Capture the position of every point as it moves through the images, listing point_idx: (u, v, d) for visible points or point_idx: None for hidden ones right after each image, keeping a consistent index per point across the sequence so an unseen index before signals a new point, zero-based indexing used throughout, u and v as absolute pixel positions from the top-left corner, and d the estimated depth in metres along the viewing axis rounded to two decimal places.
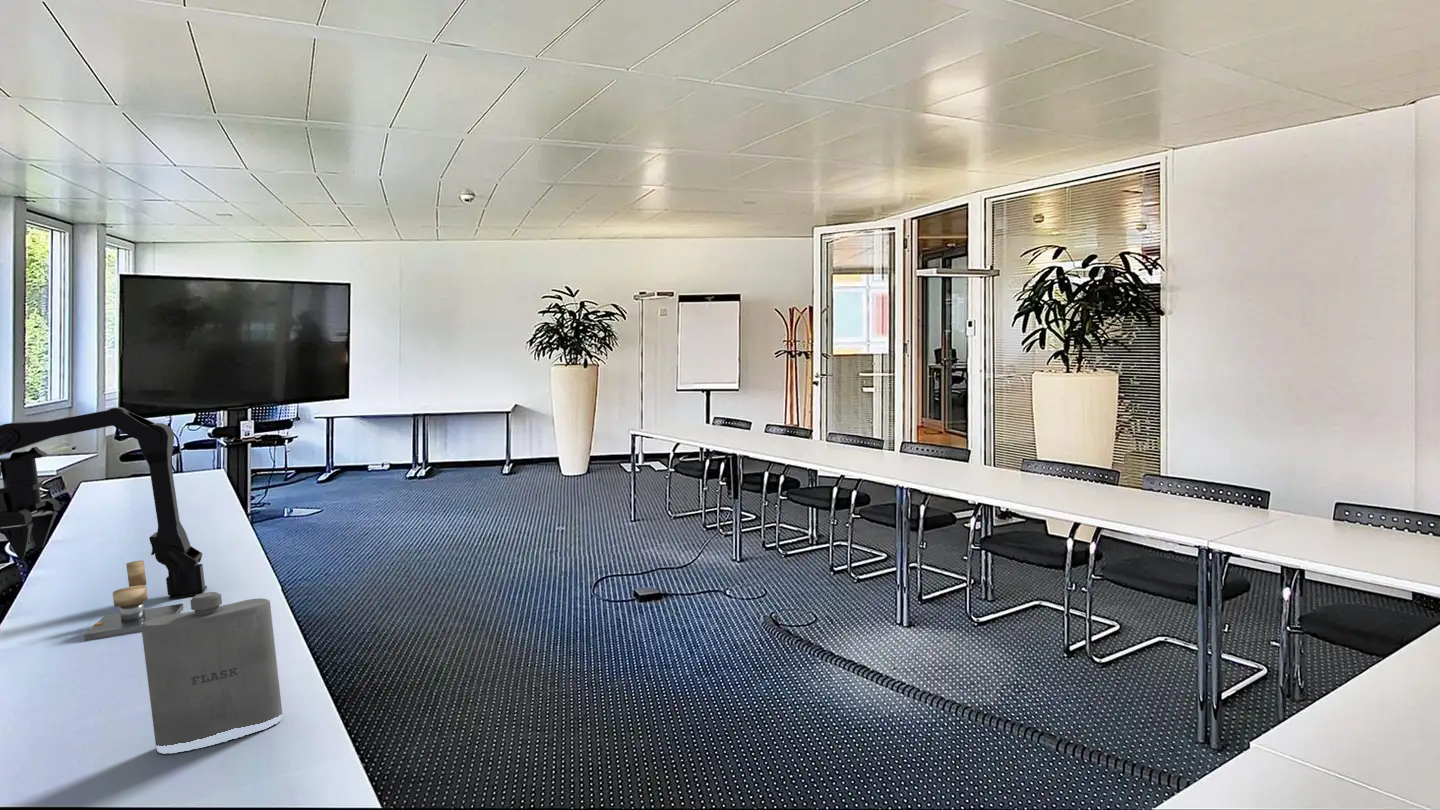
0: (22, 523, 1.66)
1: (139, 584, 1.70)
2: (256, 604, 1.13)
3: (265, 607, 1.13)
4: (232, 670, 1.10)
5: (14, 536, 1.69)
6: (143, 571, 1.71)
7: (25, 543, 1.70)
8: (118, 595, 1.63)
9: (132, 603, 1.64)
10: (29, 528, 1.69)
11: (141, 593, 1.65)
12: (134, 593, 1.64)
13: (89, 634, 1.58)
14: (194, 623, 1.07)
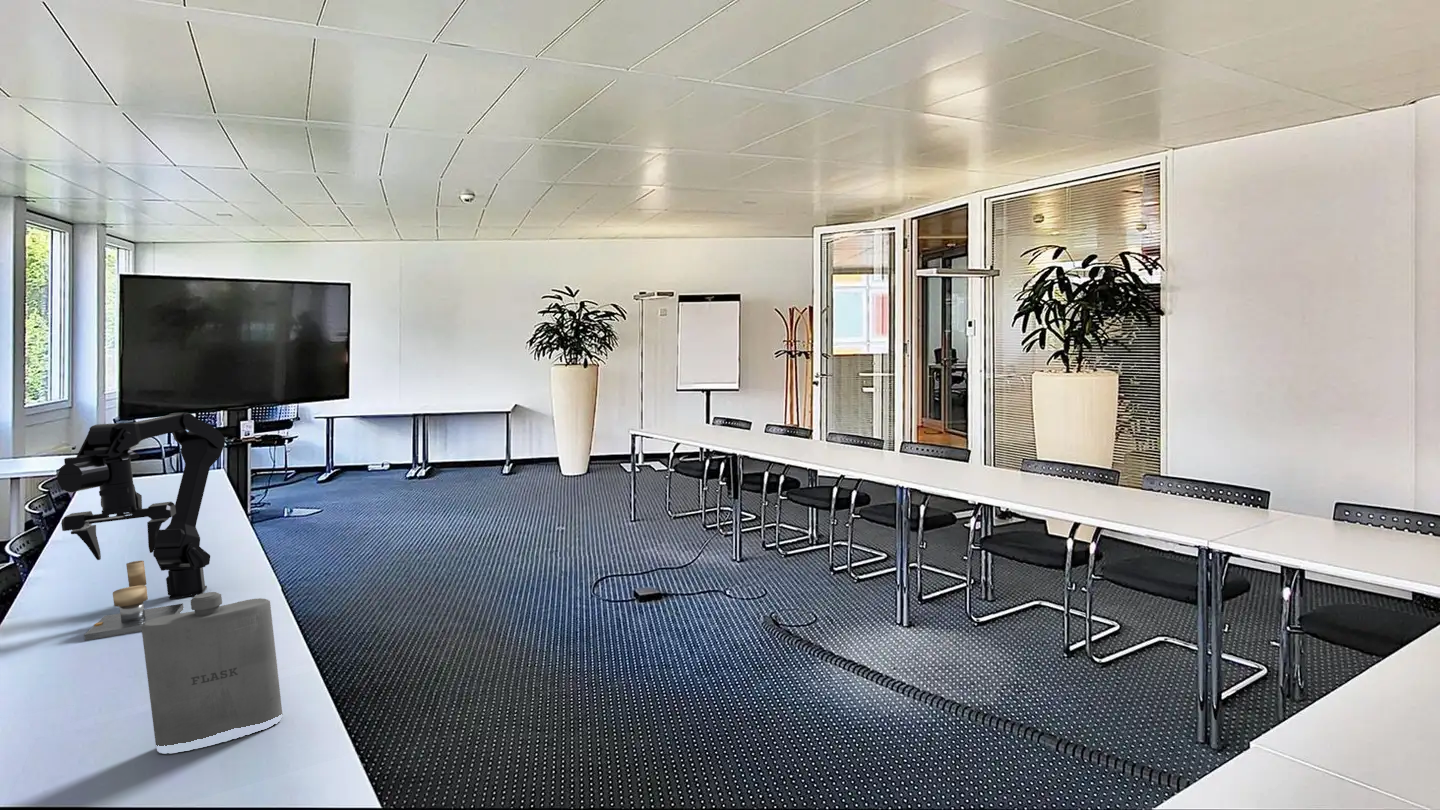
0: (63, 529, 1.64)
1: (139, 584, 1.70)
2: (256, 604, 1.13)
3: (265, 607, 1.13)
4: (233, 670, 1.10)
5: None
6: (143, 571, 1.71)
7: None
8: (118, 595, 1.63)
9: (132, 603, 1.64)
10: (80, 535, 1.65)
11: (141, 593, 1.65)
12: (134, 593, 1.64)
13: (89, 634, 1.58)
14: (194, 623, 1.07)
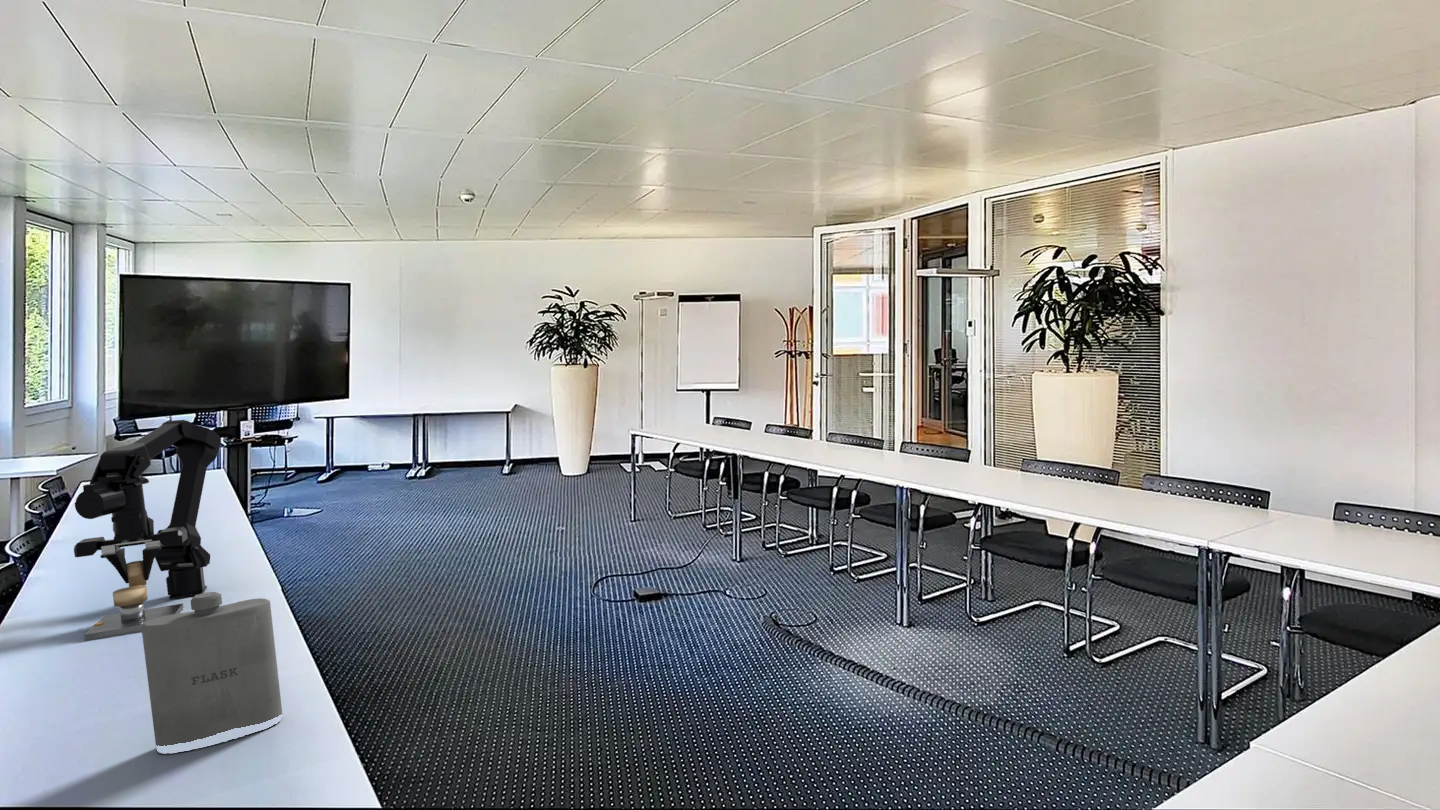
0: (75, 556, 1.64)
1: (139, 584, 1.70)
2: (256, 604, 1.13)
3: (265, 607, 1.13)
4: (233, 670, 1.10)
5: None
6: (143, 571, 1.71)
7: (118, 571, 1.68)
8: (118, 595, 1.63)
9: (132, 603, 1.64)
10: (110, 559, 1.67)
11: (141, 593, 1.65)
12: (134, 593, 1.64)
13: (89, 634, 1.58)
14: (194, 623, 1.07)
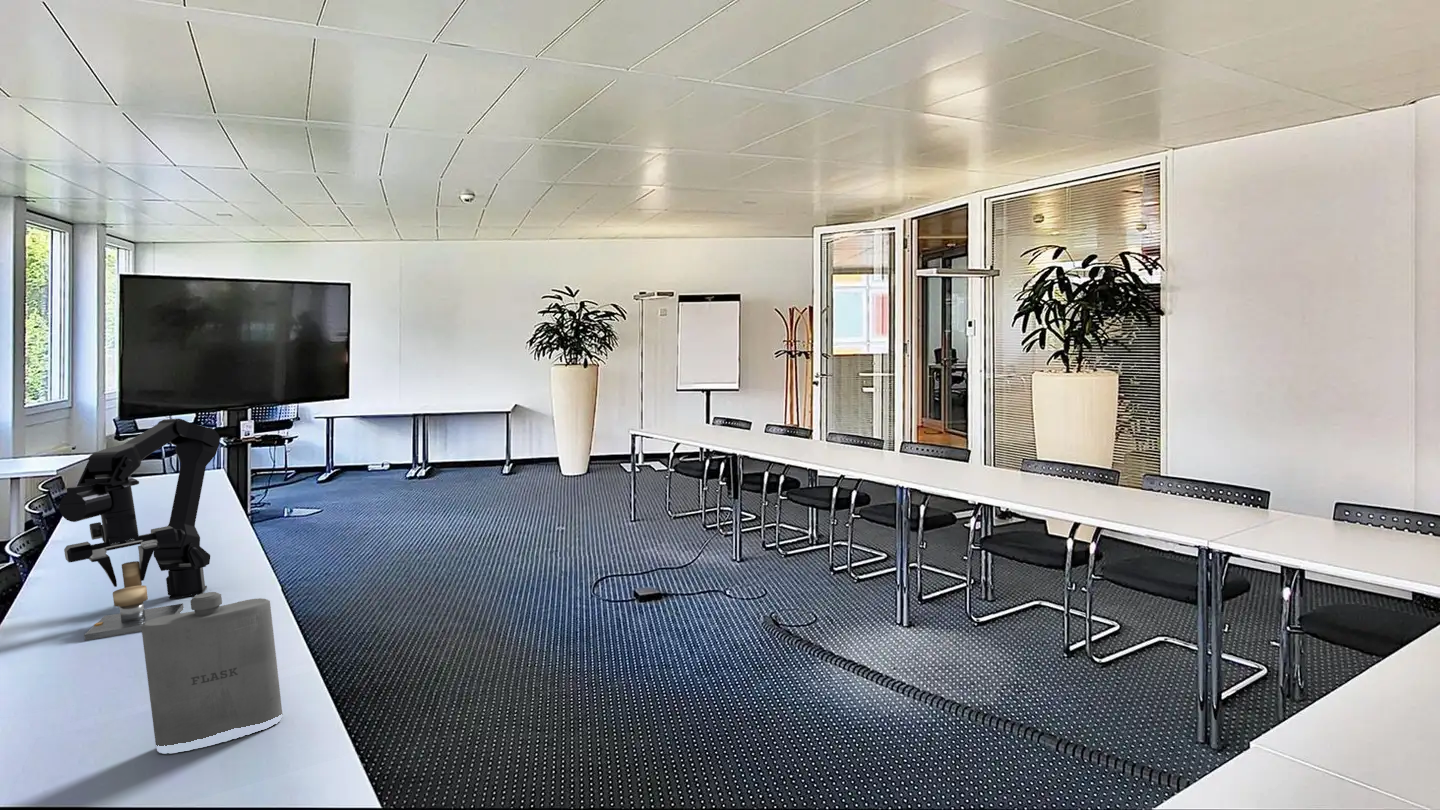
0: (69, 561, 1.61)
1: (135, 584, 1.70)
2: (256, 604, 1.13)
3: (265, 607, 1.13)
4: (233, 670, 1.10)
5: None
6: (139, 571, 1.71)
7: (108, 575, 1.66)
8: (120, 595, 1.63)
9: (134, 602, 1.64)
10: (102, 562, 1.65)
11: (142, 592, 1.65)
12: (136, 592, 1.64)
13: (89, 634, 1.58)
14: (194, 623, 1.07)
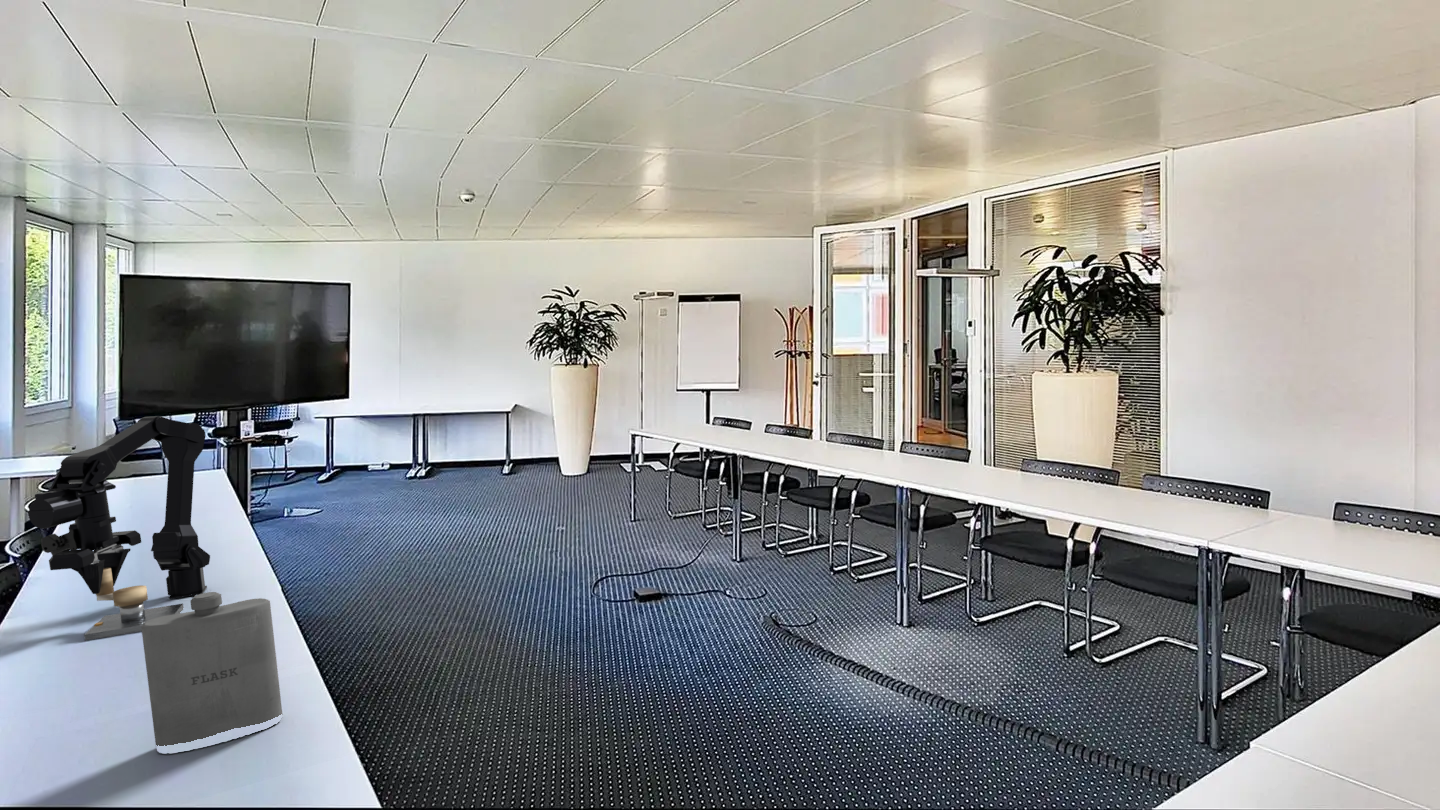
0: (80, 566, 1.56)
1: (113, 590, 1.67)
2: (256, 604, 1.13)
3: (265, 607, 1.13)
4: (233, 670, 1.10)
5: (87, 573, 1.62)
6: None
7: (98, 580, 1.63)
8: (134, 593, 1.64)
9: (146, 599, 1.66)
10: (99, 566, 1.62)
11: None
12: (145, 589, 1.66)
13: (89, 634, 1.58)
14: (194, 623, 1.07)
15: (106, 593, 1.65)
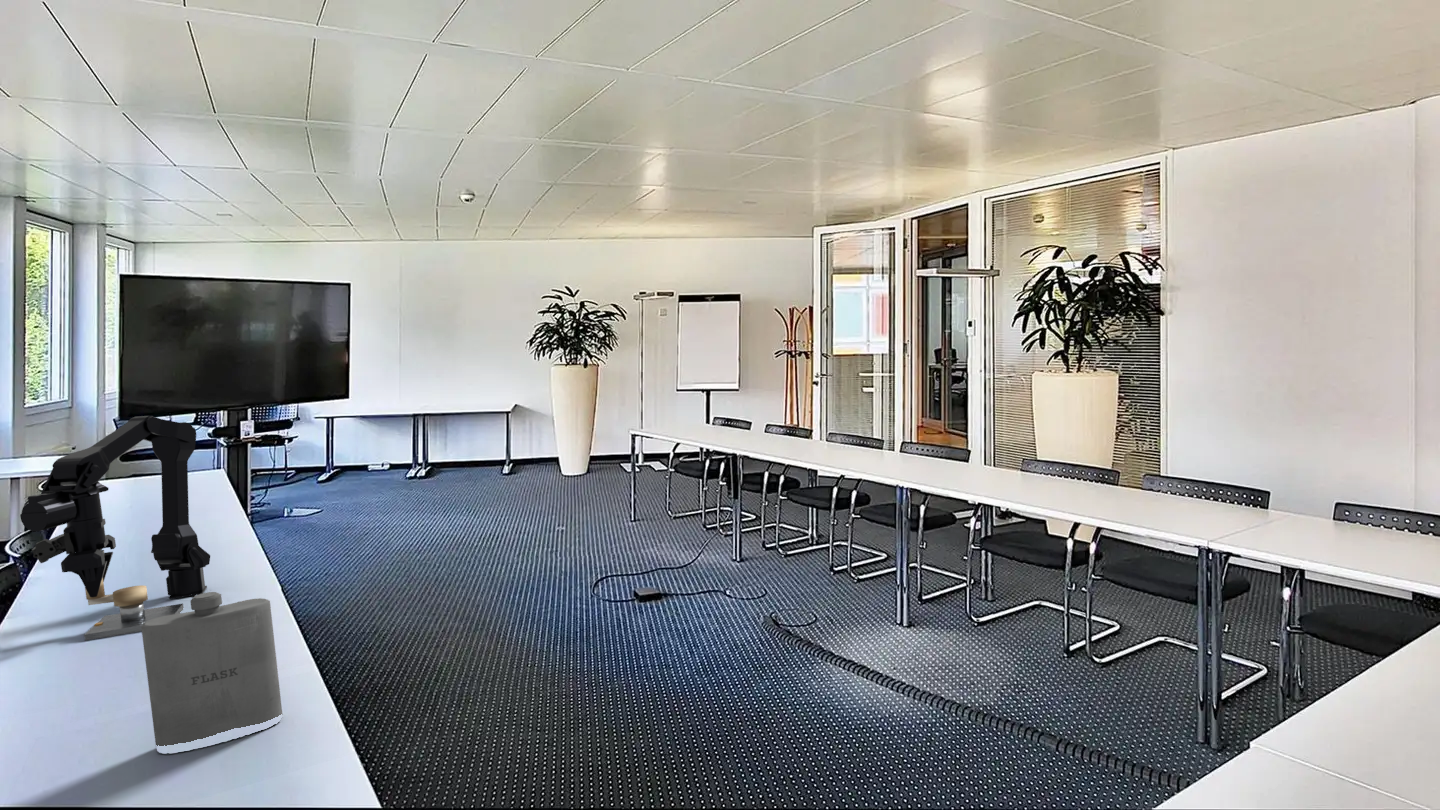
0: (99, 565, 1.56)
1: (104, 593, 1.65)
2: (256, 604, 1.13)
3: (265, 607, 1.13)
4: (233, 670, 1.10)
5: (88, 575, 1.60)
6: None
7: (100, 582, 1.61)
8: (140, 591, 1.65)
9: (147, 597, 1.67)
10: (105, 566, 1.61)
11: None
12: None
13: (89, 634, 1.58)
14: (194, 623, 1.07)
15: (101, 596, 1.63)
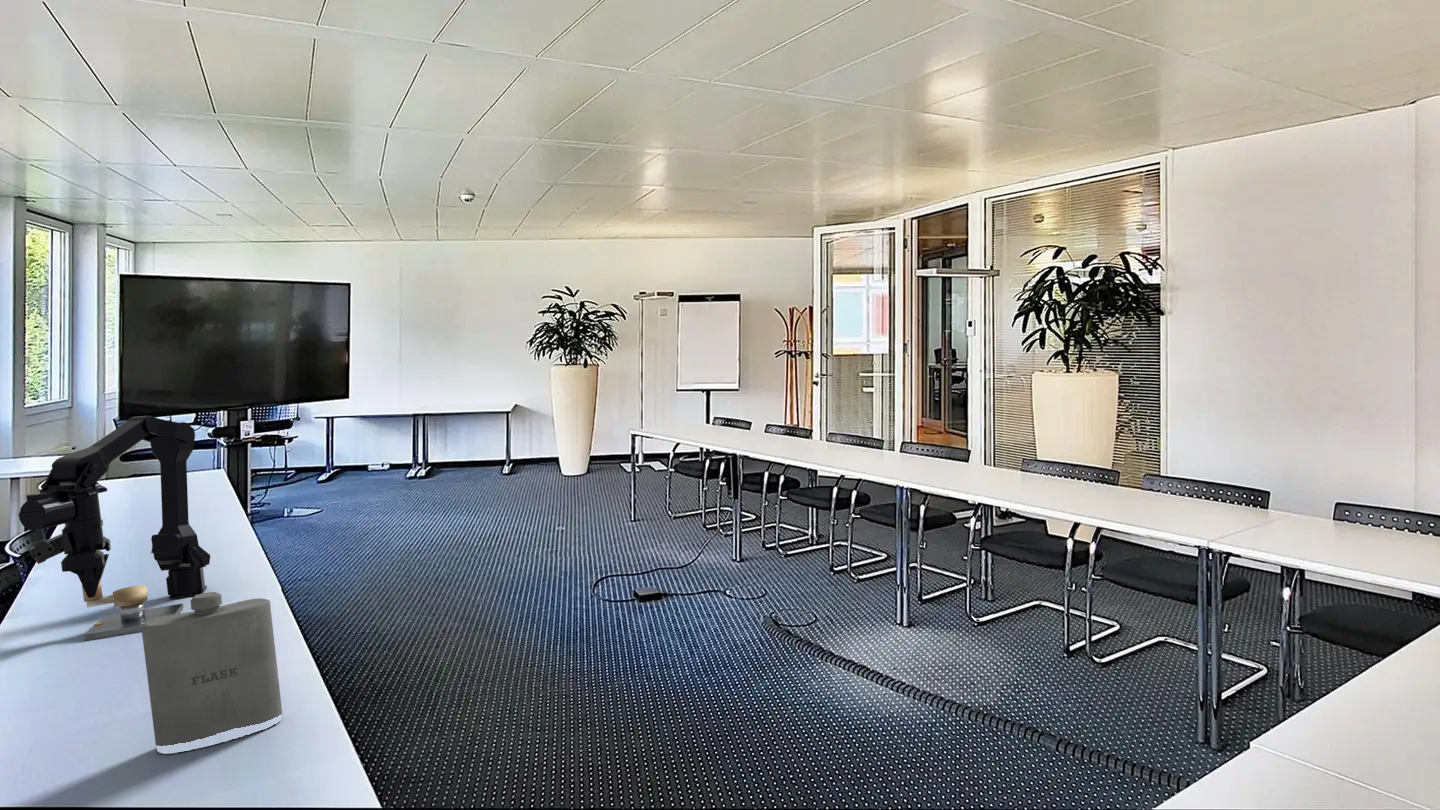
0: (100, 564, 1.56)
1: (101, 594, 1.64)
2: (256, 604, 1.13)
3: (265, 607, 1.13)
4: (232, 670, 1.10)
5: (87, 575, 1.60)
6: None
7: (98, 582, 1.61)
8: (143, 590, 1.66)
9: None
10: (104, 566, 1.60)
11: None
12: None
13: (89, 634, 1.58)
14: (194, 623, 1.07)
15: (100, 597, 1.62)
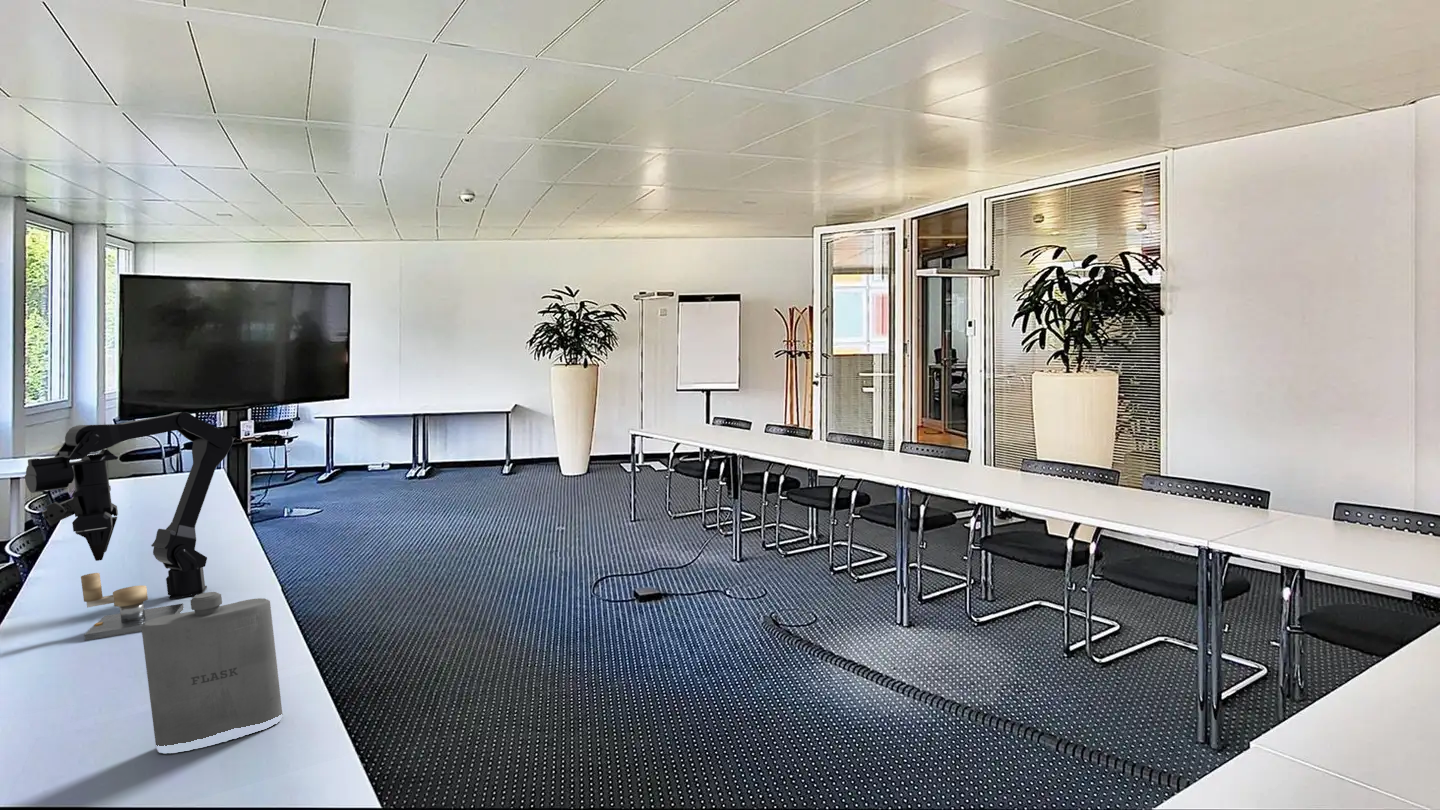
0: (108, 525, 1.66)
1: None
2: (256, 604, 1.13)
3: (265, 607, 1.13)
4: (233, 670, 1.10)
5: (94, 539, 1.67)
6: None
7: (105, 546, 1.68)
8: (143, 590, 1.66)
9: None
10: (111, 530, 1.68)
11: None
12: None
13: (89, 634, 1.58)
14: (194, 623, 1.07)
15: (100, 597, 1.62)
